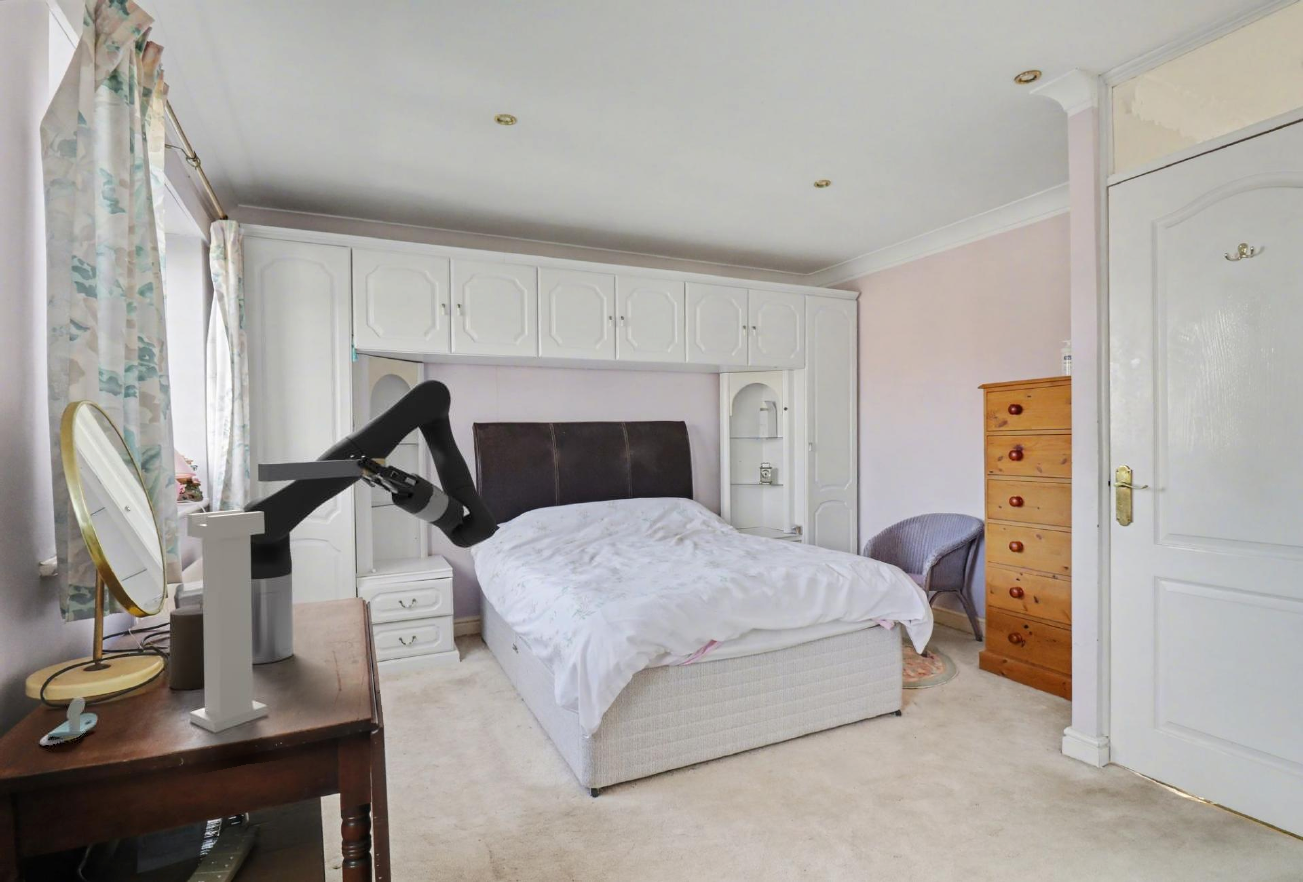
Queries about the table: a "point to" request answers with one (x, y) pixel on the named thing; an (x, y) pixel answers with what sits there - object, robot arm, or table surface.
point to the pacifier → (72, 723)
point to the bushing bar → (311, 470)
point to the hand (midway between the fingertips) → (356, 460)
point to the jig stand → (227, 617)
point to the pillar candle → (187, 648)
